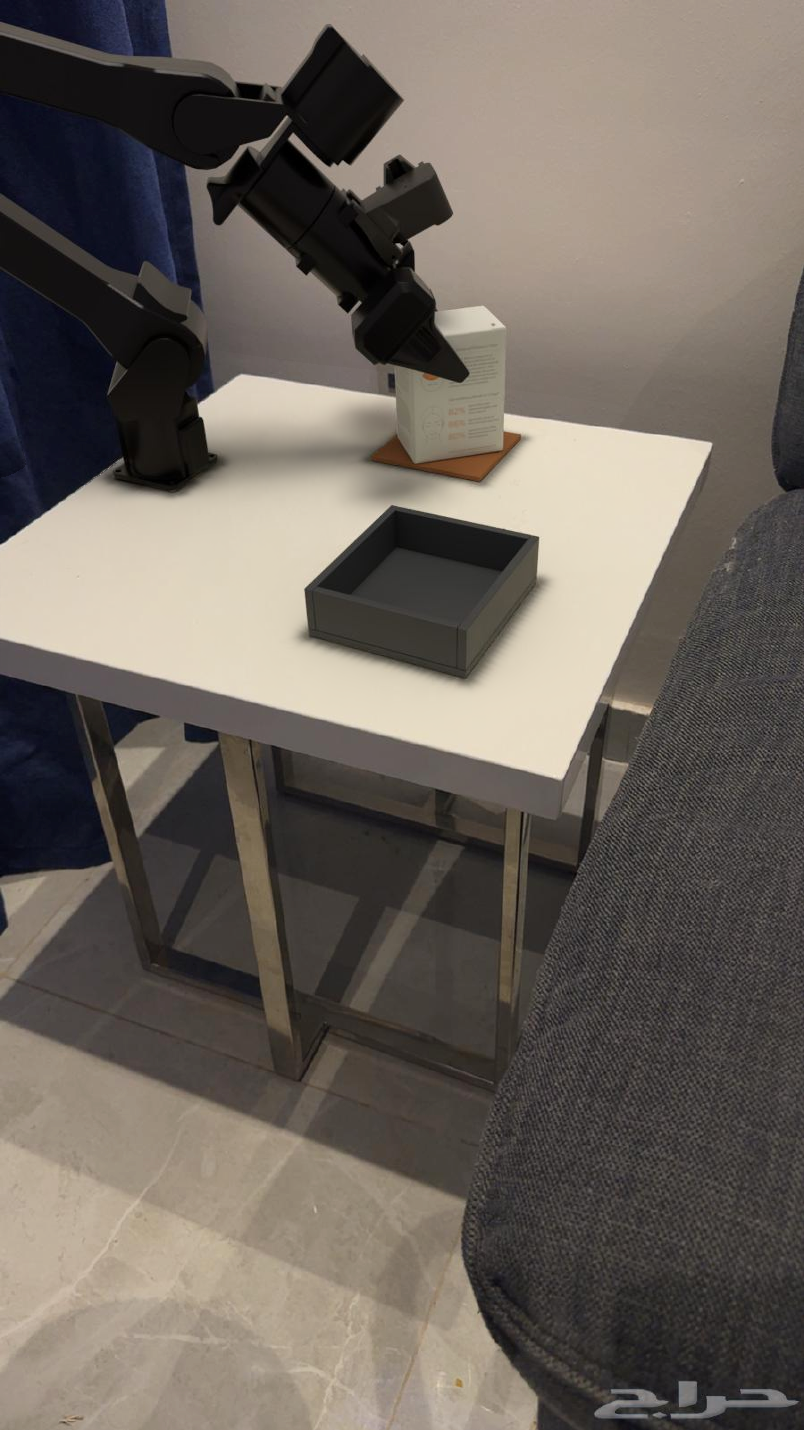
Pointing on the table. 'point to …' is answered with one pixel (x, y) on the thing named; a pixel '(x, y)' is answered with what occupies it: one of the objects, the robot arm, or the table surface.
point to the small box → (456, 392)
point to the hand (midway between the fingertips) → (456, 356)
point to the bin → (423, 589)
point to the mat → (457, 467)
